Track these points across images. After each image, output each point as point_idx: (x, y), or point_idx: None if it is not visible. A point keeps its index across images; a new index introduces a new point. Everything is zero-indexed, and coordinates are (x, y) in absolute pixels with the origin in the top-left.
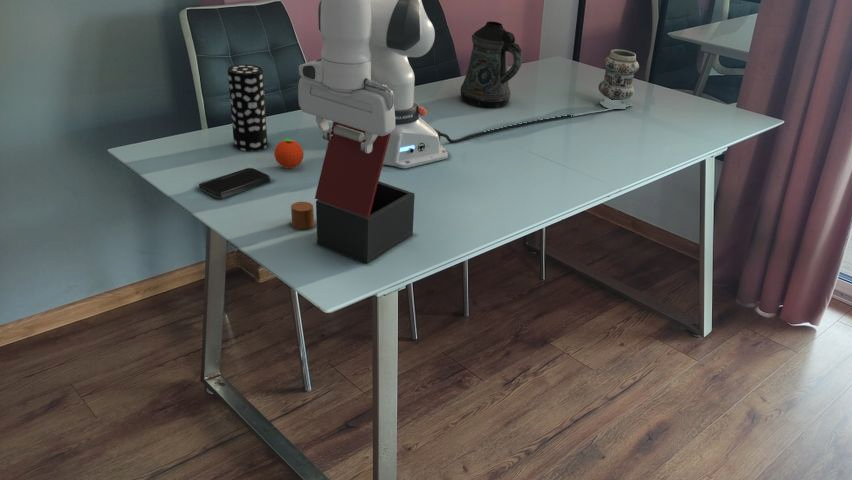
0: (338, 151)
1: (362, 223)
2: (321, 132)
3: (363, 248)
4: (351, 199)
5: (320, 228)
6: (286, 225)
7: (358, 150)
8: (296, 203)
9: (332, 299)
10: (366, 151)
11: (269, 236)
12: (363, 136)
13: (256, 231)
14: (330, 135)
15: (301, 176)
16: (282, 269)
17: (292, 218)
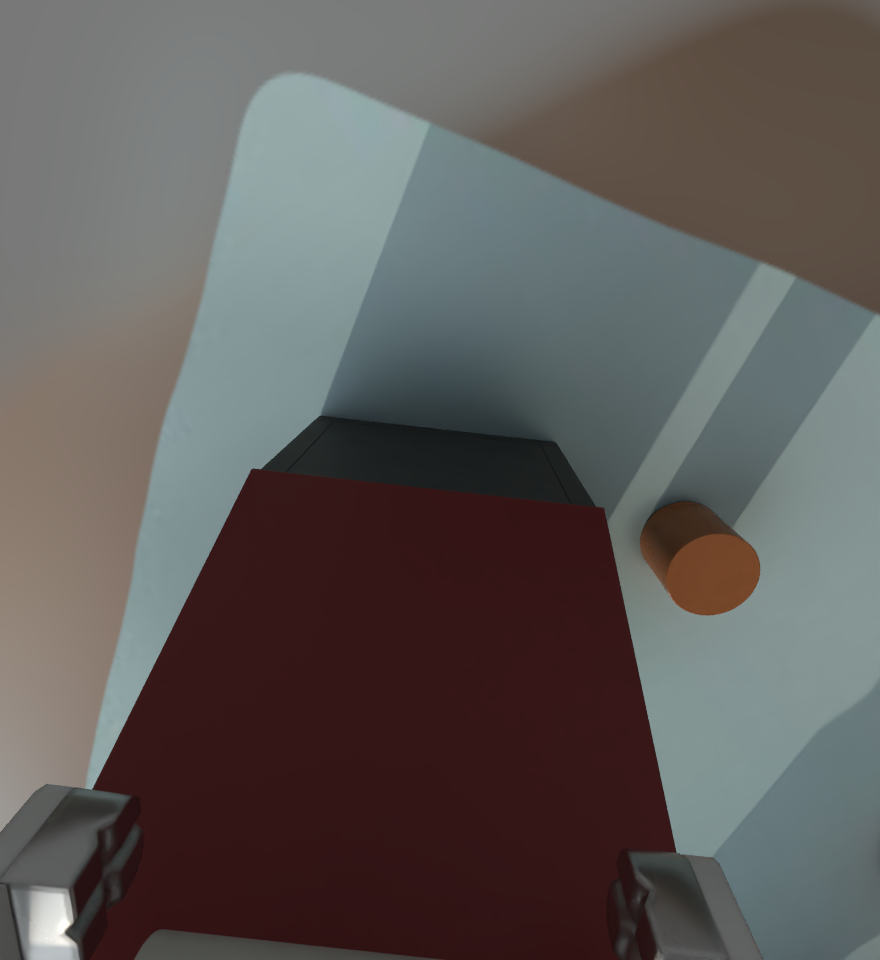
0: (545, 811)
1: (301, 466)
2: (744, 935)
3: (325, 432)
4: (360, 526)
5: (548, 461)
6: (733, 503)
7: (338, 861)
8: (747, 583)
9: (270, 108)
10: (35, 798)
11: (750, 399)
12: None
13: (817, 405)
14: (629, 935)
15: (861, 818)
16: (568, 201)
17: (721, 520)
